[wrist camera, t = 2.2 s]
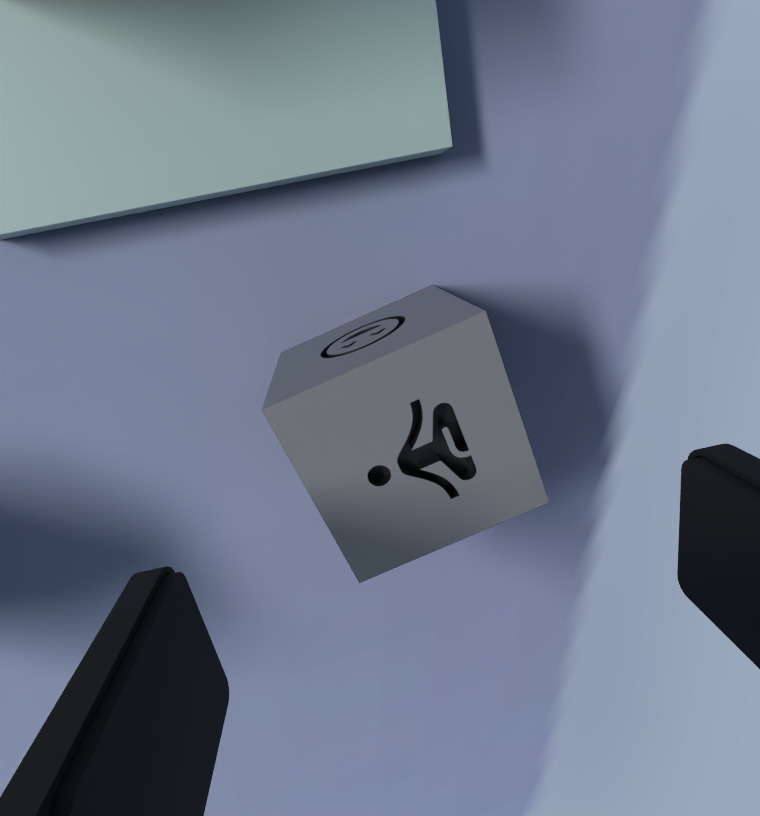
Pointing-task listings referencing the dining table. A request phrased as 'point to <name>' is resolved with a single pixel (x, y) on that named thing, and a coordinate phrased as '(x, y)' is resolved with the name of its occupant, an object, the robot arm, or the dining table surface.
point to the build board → (205, 100)
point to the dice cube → (405, 430)
